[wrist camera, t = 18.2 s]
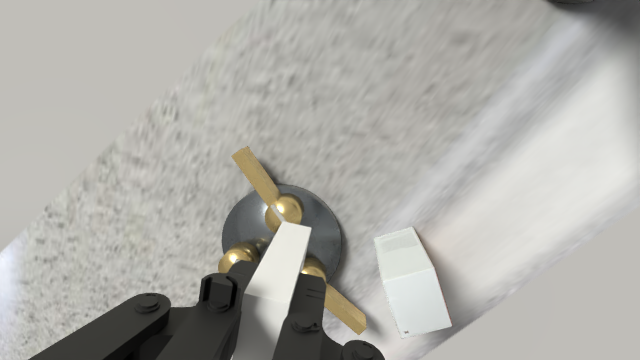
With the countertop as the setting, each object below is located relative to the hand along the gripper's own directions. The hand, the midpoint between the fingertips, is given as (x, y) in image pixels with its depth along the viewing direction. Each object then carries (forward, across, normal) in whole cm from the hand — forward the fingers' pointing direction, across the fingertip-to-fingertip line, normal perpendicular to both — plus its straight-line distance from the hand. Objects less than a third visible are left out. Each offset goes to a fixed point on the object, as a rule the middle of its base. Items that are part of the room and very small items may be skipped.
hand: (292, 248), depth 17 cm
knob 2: (+30, -7, -6) cm, 32 cm away
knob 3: (+30, +5, -20) cm, 37 cm away
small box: (+33, +14, -13) cm, 38 cm away
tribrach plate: (+32, -4, -15) cm, 36 cm away
